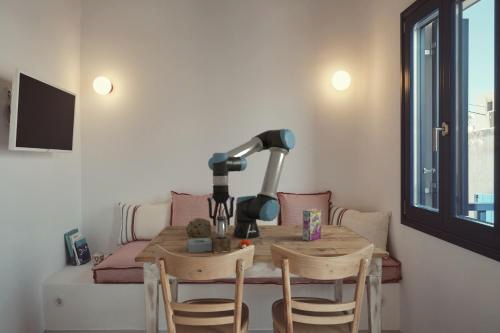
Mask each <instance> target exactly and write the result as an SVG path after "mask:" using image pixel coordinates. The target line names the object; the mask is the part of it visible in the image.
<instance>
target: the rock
mask: <svg viewBox="0 0 500 333" xmlns="http://www.w3.org/2000/svg"><path fill="white" fill-rule="evenodd" d="M185 229H186V232H187V236H188V237H191V236H194V237H199V238H209V237H210V236H211V233H212V224H211V222H210V220H208V219H205V218H201V217H200V218H197V217H196V218H194V219H193V220H189V222H188V224H187V226H186V227H185Z"/></svg>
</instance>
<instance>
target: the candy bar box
mask: <svg viewBox="0 0 500 333" xmlns="http://www.w3.org/2000/svg"><path fill="white" fill-rule="evenodd" d="M321 229H322V209H321V208H310V209H304V210H302V241H306V242H311V241H315V240H318V239H321V238H322V237H321V236H322V234H321V233H322V231H321Z"/></svg>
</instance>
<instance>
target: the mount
mask: <svg viewBox="0 0 500 333" xmlns="http://www.w3.org/2000/svg"><path fill="white" fill-rule="evenodd" d="M231 241H232V240H231V238H230V237H229V236H228V235H225V239H218V236H211V242H212V249H213V250H212V252H213V251H214V252H222V251H232V246H231V243H232V242H231ZM214 252H213V253H214Z"/></svg>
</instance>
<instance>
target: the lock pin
mask: <svg viewBox="0 0 500 333" xmlns="http://www.w3.org/2000/svg"><path fill="white" fill-rule="evenodd" d="M226 218H227V217H226V215H217V216H216V219H217V220H218V233H217V237H218V239H225V236H226V232H225V219H226Z"/></svg>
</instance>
